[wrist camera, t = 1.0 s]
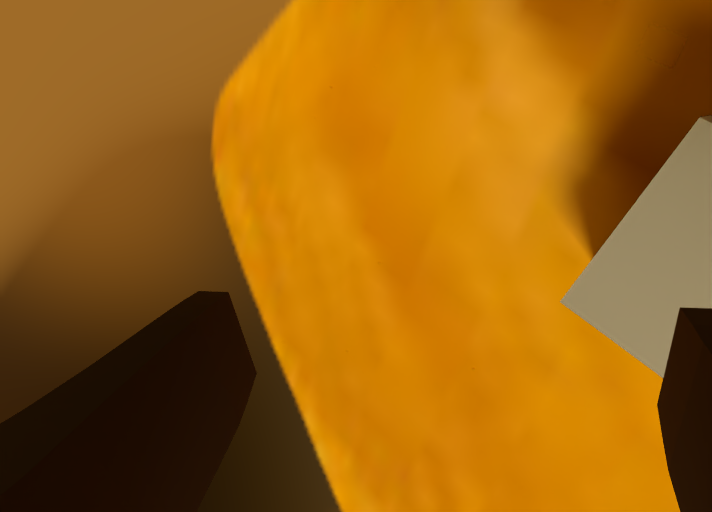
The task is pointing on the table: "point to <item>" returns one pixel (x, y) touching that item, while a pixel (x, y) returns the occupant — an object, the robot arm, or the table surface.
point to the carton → (655, 257)
